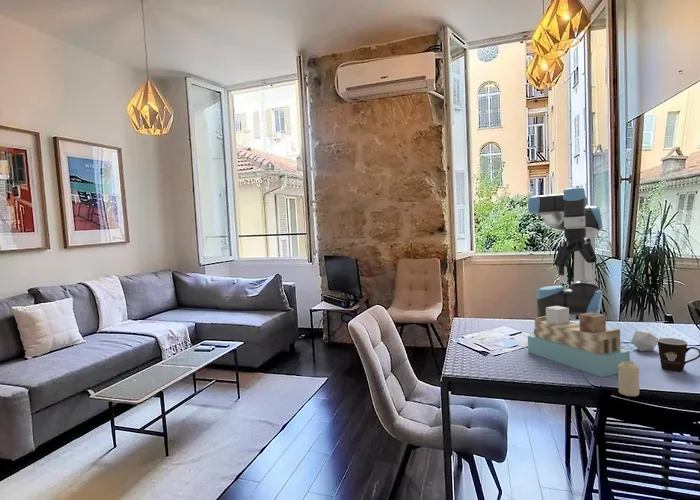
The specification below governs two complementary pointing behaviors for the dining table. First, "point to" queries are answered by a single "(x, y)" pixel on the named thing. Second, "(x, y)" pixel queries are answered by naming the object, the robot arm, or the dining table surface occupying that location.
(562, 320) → the light grey cube
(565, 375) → the dining table surface
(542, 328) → the board
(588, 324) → the brown wooden cube
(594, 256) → the robot arm
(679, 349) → the coffee mug
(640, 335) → the die
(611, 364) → the dock
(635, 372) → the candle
